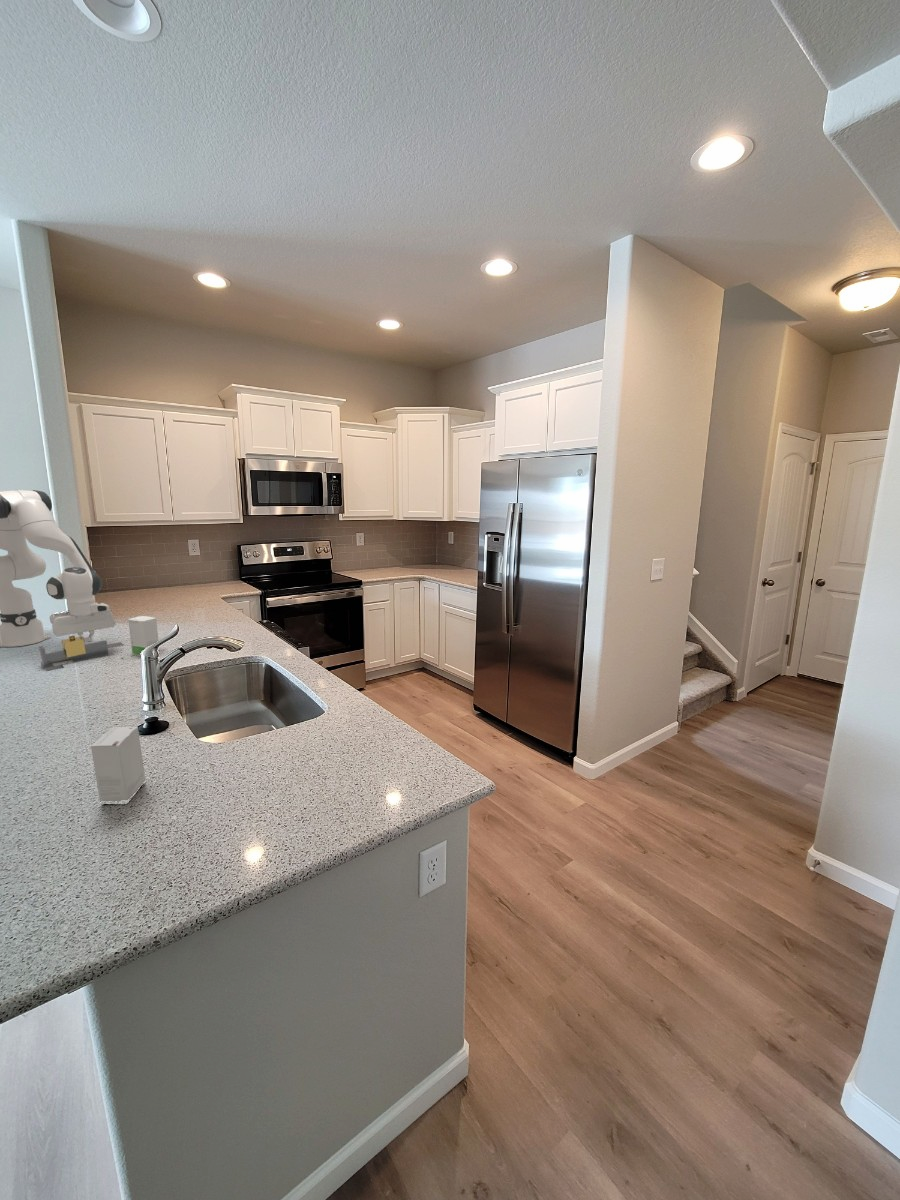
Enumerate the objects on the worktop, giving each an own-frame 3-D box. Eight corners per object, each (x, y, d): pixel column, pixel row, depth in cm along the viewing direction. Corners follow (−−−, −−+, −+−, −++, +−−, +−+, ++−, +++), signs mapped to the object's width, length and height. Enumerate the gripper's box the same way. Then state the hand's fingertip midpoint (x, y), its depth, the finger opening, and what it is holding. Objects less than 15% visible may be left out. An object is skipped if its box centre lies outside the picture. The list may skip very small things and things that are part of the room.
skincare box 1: (120, 784, 114) (111, 726, 110) (148, 783, 114) (139, 724, 111) (99, 807, 105) (88, 744, 102) (128, 805, 106) (118, 743, 103)
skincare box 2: (131, 655, 201) (126, 619, 198) (145, 650, 207) (140, 615, 204) (147, 657, 199) (142, 620, 195) (161, 652, 205) (156, 616, 202)
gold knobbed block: (64, 654, 193) (60, 636, 192) (82, 650, 198) (79, 633, 196) (67, 657, 190) (63, 639, 188) (85, 653, 194) (82, 635, 193)
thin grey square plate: (101, 648, 211) (101, 645, 210) (120, 644, 216) (120, 642, 215) (105, 651, 207) (105, 648, 206) (124, 647, 212) (124, 645, 211)
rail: (41, 664, 190) (37, 645, 189) (107, 651, 206) (104, 633, 205) (46, 671, 184) (42, 650, 182) (114, 656, 200) (111, 638, 198)
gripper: (50, 614, 184) (56, 649, 187) (113, 605, 199) (118, 638, 202) (47, 612, 188) (53, 646, 191) (109, 603, 203) (114, 635, 206)
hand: (87, 642), depth 196 cm, fingers closed
